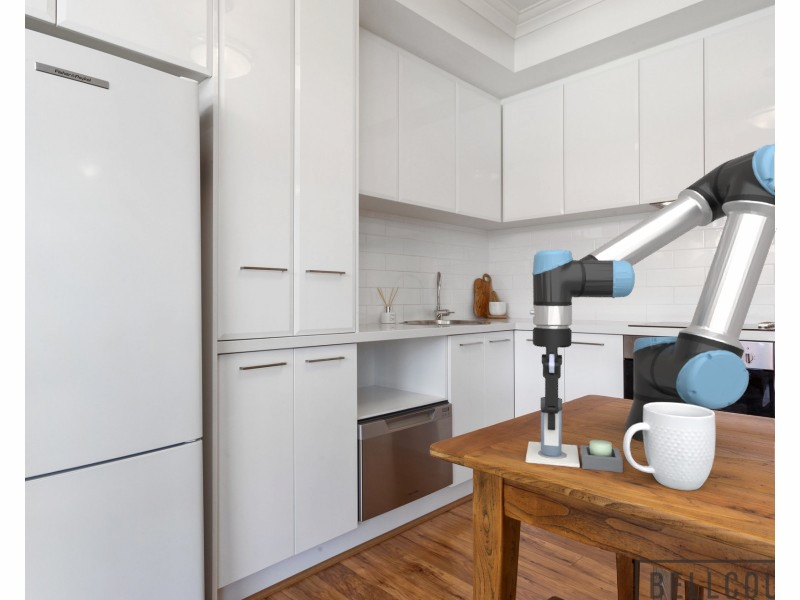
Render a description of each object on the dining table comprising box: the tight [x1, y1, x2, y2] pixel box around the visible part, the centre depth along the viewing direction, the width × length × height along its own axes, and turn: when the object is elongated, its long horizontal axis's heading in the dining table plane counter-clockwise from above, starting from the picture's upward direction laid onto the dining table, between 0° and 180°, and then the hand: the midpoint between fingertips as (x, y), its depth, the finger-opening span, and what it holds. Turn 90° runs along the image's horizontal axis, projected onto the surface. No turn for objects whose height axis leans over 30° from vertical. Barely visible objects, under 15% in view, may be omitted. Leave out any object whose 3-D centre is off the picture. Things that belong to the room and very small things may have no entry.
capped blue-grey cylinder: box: [540, 396, 563, 456], centre depth 99 cm, size 4×4×11 cm
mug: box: [622, 402, 717, 491], centre depth 85 cm, size 15×11×13 cm
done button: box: [589, 439, 613, 457], centre depth 95 cm, size 4×4×3 cm
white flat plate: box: [525, 440, 581, 468], centre depth 100 cm, size 10×12×1 cm
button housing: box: [580, 444, 624, 474], centre depth 95 cm, size 7×7×2 cm
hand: (551, 441), depth 99 cm, fingers closed on capped blue-grey cylinder, 4 cm apart
